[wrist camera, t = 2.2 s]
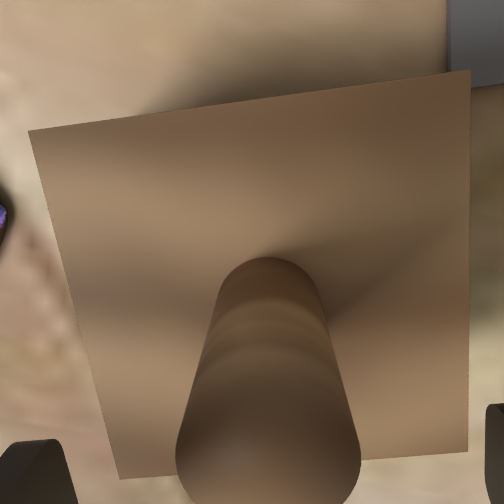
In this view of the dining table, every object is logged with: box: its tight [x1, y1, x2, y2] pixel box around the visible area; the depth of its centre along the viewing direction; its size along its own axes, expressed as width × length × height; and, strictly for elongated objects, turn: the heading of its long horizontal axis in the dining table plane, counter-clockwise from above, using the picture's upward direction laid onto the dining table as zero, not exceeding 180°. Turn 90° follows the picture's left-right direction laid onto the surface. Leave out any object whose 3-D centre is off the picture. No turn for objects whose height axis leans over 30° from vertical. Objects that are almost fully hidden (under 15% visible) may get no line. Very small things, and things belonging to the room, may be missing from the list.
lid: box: [28, 69, 471, 504], centre depth 12 cm, size 13×13×8 cm
